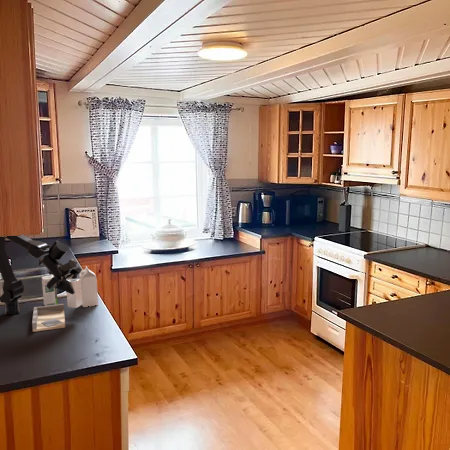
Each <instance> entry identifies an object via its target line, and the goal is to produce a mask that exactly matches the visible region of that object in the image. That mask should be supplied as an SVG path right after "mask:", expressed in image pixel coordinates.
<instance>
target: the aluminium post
mask: <svg viewBox="0 0 450 450" xmlns="http://www.w3.org/2000/svg"><path fill="white" fill-rule="evenodd" d="M67 283H68V285H69V286H70V287H71V289H72V290H73V291H74V294H70V293H68V292H66V300H67V307H68V308H73V309H76V308H79V307H81V306H82V290H81V279H79V278H77V279H75V278H72V279H69V280H67Z"/></svg>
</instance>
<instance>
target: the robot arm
mask: <svg viewBox="0 0 450 450" xmlns="http://www.w3.org/2000/svg"><path fill="white" fill-rule="evenodd" d="M6 239H8V240H9V241H11V242H12V243H14V244H17V245H18V246H20V247H22V248H24V249H26V252H27V253H28V254H29V255H30V256H32V258H35V259H38V258H39V259H38V266H39V267H40V266H43V265H44V266H45V268H46V269H47V270H48V271H49V272H48V274H49V276H52V275H53V276H54V277H53V278H51V280H50V281H49V282H48V283H47V288H48V289H49V290H51V289H53V288H54V285H55V284H56V288H55V289H57V290H61V291H63V292H66V293H67V292H68V293H70V294H74V291H73V290H72V289H71V287H70V286H69V285H68V283H67V280H69V279H72V278H75V279H78V276H79V274H80V272H81V271H82V270H83V269H81V268H80V267H79V266H77V264H78V261H77V260H76V259H74V258H71V259H69V260H68V262H67V263H64V262H60V261H59V260H61V259H62V258H63V257H64V256H65V255H66V254H67V252H68V251H69V247H68V245H67V244H65V243H64V242H61V241H59V240H55V241H54V242H53V243H52V245H50V244H47V243H45V242H44V241H40V240H34V239H31V238H29V237H28V236H26V235H24V234H22V235H21V236H7V237H0V275H1V277H2V280H3V285H2V292H3V293H2V294H1V295H0V303H2V304H3V303H4V307H5V308H4V309H5V311H4V314H3V315H4V316H9V315H10V316H11V315H17V314H20V313H21V308H20V307H19V299H21V298H22V297H23V294H24V291H25V289H24V288H25V286H24V284H23V281H22V279H17V278H16V276H15V274H14V270H13V269H12V266H11V262H10V261H9V258H8V254H7V252H6V250H5V248H6ZM41 257H42V258H41Z"/></svg>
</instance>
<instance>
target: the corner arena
mask: <svg viewBox="0 0 450 450" xmlns="http://www.w3.org/2000/svg"><path fill="white" fill-rule="evenodd" d="M31 326H32V332H41V331H48V330H57V329H64V328H66V317H65V304H64V303H58V304H57V305H49V306H45V305H41V306H34V307H33V313H32V321H31Z"/></svg>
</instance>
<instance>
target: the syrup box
mask: <svg viewBox="0 0 450 450" xmlns="http://www.w3.org/2000/svg"><path fill="white" fill-rule="evenodd" d="M53 277H54V276H53V274H51V275H47V276H46V275H45V276H41V286H42V295H43V296H42V297H43V298H42V299H43V306H49V305H57V304H59V303H58V291H57V290H58V289H55V288H56V284H55V285H54V288H53V289H51V290H49V289H48V288H47V283H48V282H49V281H50V280H51V278H53Z"/></svg>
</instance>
